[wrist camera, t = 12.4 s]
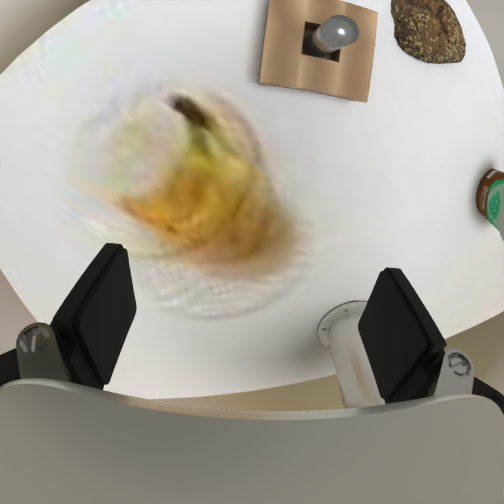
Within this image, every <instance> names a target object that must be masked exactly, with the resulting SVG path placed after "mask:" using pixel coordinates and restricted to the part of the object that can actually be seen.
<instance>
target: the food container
mask: <svg viewBox="0 0 504 504" xmlns="http://www.w3.org/2000/svg"><path fill="white" fill-rule="evenodd" d="M476 203H477V207H478V210H479V211H480V213H481V214H482V215H484V216H485V217H486V218H487V219H488V220H489V221H490V222H491V223H492V224H493V225H494V226H495V227H496V228H497V229H498V230H499V232H500V235H501V237H502V239H503V241H504V173H503V172H501V171H498V170H495V169H491V170H489V171H488V172H487V173H486V174H485V175H484V176H483V178H482V180H481V181H480V184H479V186H478V189H477V195H476Z"/></svg>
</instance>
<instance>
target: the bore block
mask: <svg viewBox="0 0 504 504" xmlns="http://www.w3.org/2000/svg"><path fill="white" fill-rule="evenodd" d="M333 15H345V16H347V17H349V18H351V19H352V20H353V21H354V22H355V23H356V24H357V26H358V28H359V37H358V39H357V40H356V41H355V42H354V43H352V44H350V45H347V46H345V47H343V48H341V49H338V50H336V51H334V52H332V53H330V54H327V55H325V56H323V57H321V58H318V57H313V56H308V55H307V54H306V53H305V52H304V49H303V43H304V41H305V40H306V39H307V38H308V37H309V36H310V35H311V34H312V33H313V32H314V31H315V30H316V29H317V28H319V27H320V26H321V25H322V24H323V23H324V22H325V21H326V20H328V19H329V18H330V17H331V16H333ZM377 16H378V12H375V11H373V10H370V9H367V8H364V7H361V6H357V5H354V4H351V3H347V2H344V1H340V0H269V5H268V12H267V20H266V28H265V36H264V43H263V51H262V59H261V68H260V76H259V84H263V85H271V86H279V87H286V88H292V89H298V90H304V91H310V92H315V93H320V94H325V95H330V96H334V97H339V98H343V99H347V100H351V101H359V102H366V103H367V99H368V93H369V87H370V80H371V72H372V65H373V57H374V48H375V39H376V28H377Z"/></svg>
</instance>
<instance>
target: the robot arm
mask: <svg viewBox="0 0 504 504" xmlns="http://www.w3.org/2000/svg"><path fill="white" fill-rule="evenodd" d="M135 314H136V300H135V295H134V290H133V284H132V278H131V272H130V266H129V259H128V252H127V249H125V248H123V246H122V245H121V244H114V243H106V244H105V245H104V246H103V248H102V249H101V250H100V252H99V253H98V254H97V255H96V257H95V258H94V259H93V261H92V262H91V263H90V265H89V266H88V267H87V269H86V270H85V272H84V273H83V274H82V276H81V277H80V279H79V280H78V281H77V283H76V284H75V286H74V287H73V289H72V290H71V291H70V293H69V294H68V296H67V297H66V299H65V300H64V302H63V303H62V305H61V306H60V308H59V309H58V311H57V313H56V314H55V316H54V317H53V320H52V322H51V324H50V325H48V324H46V323H41V322H37V323H33V324H30V325H28V326H26V327H25V328H24V329H23V330H22V331H21V332H20V334H19V335H18V337H17V340H16V348H15V349H13V350H10V351H8V352H6V353H4V354H1V355H0V504H504V396H503V395H502V394H501V393H500V392H498V391H497V390H495V389H494V388H492V387H490V386H489V385H487V384H485V383H484V382H482V381H481V380H479V379H477V378H476V377H474V365H473V362H472V361H471V359H470V358H469V357H468V356H467V355H466V354H465V353H464V352H462V351H460V350H457V349H451V350H448V351H447V352H446V353H445V352H444V350H443V349H444V348H445V346H446V345H447V344H446V342H445V340H444V338H443V336H442V334H441V333H440V331H439V329H438V327H437V326H436V324H435V322H434V321H433V319H432V317H431V316H430V314H429V312H428V311H427V309H426V307H425V306H424V304H423V303H422V301H421V299H420V298H419V296H418V295H417V293H416V292H415V290H414V288H413V287H412V285H411V284H410V282H409V281H408V279H407V278H406V276H405V275H404V273H403V272H402V270H401V269H398V268H385V269H384V271H381V272H380V274H379V276H378V279H377V281H376V283H375V286H374V288H373V291H372V293H371V295H370V298H369V300H368V302H359V301H358V302H351V303H347V304H344V305H341V306H339V307H337V308H335V309H334V310H332V311H331V312H330V313H328V314H327V315H326V316H325V317H324V318H323V320H322V321H321V323H320V325H319V328H318V335H319V339H320V341H321V343H322V344H323V345H324V346H326V347H327V348H330V350H331V354H332V358H333V362H334V366H335V370H336V375H337V379H338V383H339V388H340V392H341V396H342V401H343V405H344V409H335V410H319V411H286V412H285V411H279V412H278V411H244V410H227V409H215V408H205V407H195V406H186V405H179V404H172V403H166V402H160V401H153V400H148V399H143V398H138V397H132V396H127V395H122V394H118V393H113V392H109V391H104V390H103V388H104V385H105V384H106V385H107V384H108V383H109V382H110V379H111V376H112V374H113V371H114V368H115V365H116V363H117V360H118V357H119V355H120V352H121V349H122V347H123V344H124V341H125V339H126V336H127V334H128V331H129V329H130V326H131V324H132V321H133V319H134V317H135Z"/></svg>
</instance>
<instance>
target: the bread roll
mask: <svg viewBox="0 0 504 504" xmlns="http://www.w3.org/2000/svg"><path fill="white" fill-rule="evenodd" d="M391 5H392V11H391V13H392V17H393V18H394V22H395V33H394V37H395V38H396V39H397V41H398V44H399V46H400V47H401V48H402V49H403V50H404V51H405V52H406V53H408V54H409V55H411V56H413V57H415V58H417V59H420V60H422V61H425V62H427V63H438V64H442V63H456V62H457V63H458V62H461V61H462V59H463V58H464V55H465V52H466V50H465V46H466V43H465V39H464V36H463V32H462V28H461V25H460V24H459V21H458V19H457V17H456V15H455V12H454V11H453V10H452V8H451V7H450V5H449V4H448V3H447V2H446V1H445V0H392V3H391Z"/></svg>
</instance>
